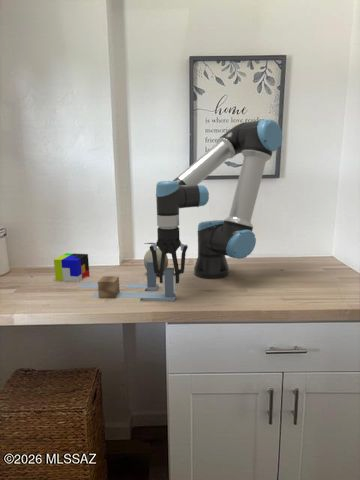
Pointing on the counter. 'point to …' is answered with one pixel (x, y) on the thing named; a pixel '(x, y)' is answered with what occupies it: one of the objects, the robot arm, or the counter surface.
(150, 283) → the lane
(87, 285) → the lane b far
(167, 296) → the strip
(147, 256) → the fruit
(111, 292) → the cube
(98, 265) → the counter surface
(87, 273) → the puzzle toy
